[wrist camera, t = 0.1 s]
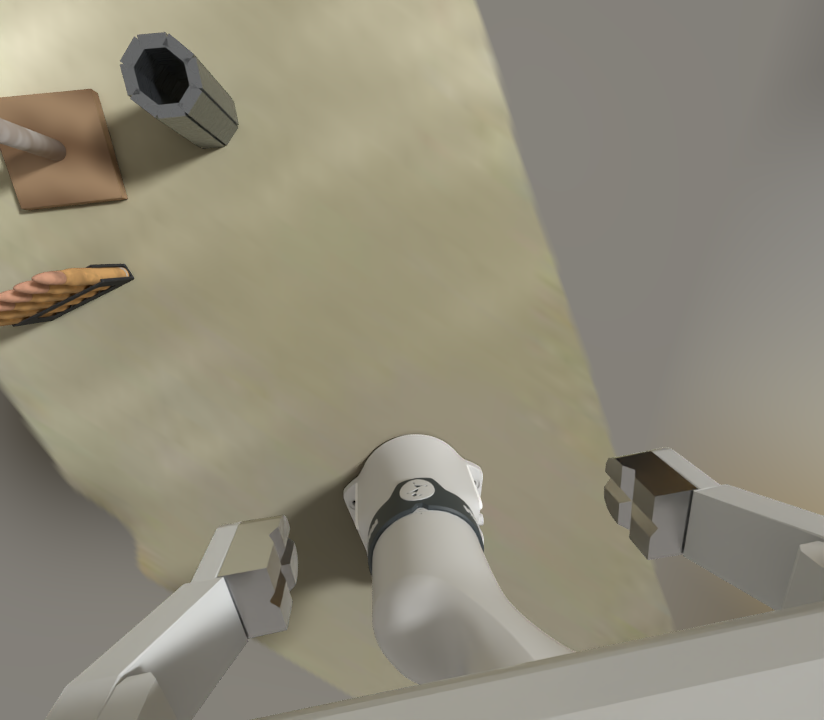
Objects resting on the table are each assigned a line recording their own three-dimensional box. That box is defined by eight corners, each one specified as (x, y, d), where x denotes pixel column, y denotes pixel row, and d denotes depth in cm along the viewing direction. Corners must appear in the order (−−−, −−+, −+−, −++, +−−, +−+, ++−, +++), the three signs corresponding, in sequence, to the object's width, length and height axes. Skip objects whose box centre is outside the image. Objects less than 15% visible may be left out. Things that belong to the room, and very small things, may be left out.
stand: (127, 198, 42) (63, 182, 33) (29, 210, 41) (-62, 196, 33) (97, 93, 39) (19, 45, 31) (-8, 103, 39) (-117, 57, 30)
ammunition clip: (125, 263, 44) (34, 263, 32) (135, 278, 44) (50, 284, 32) (40, 305, 44) (-81, 321, 32) (51, 320, 44) (-64, 341, 33)
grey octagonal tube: (242, 144, 42) (208, 113, 33) (185, 150, 41) (134, 121, 33) (229, 80, 40) (189, 30, 32) (169, 86, 40) (112, 36, 31)
